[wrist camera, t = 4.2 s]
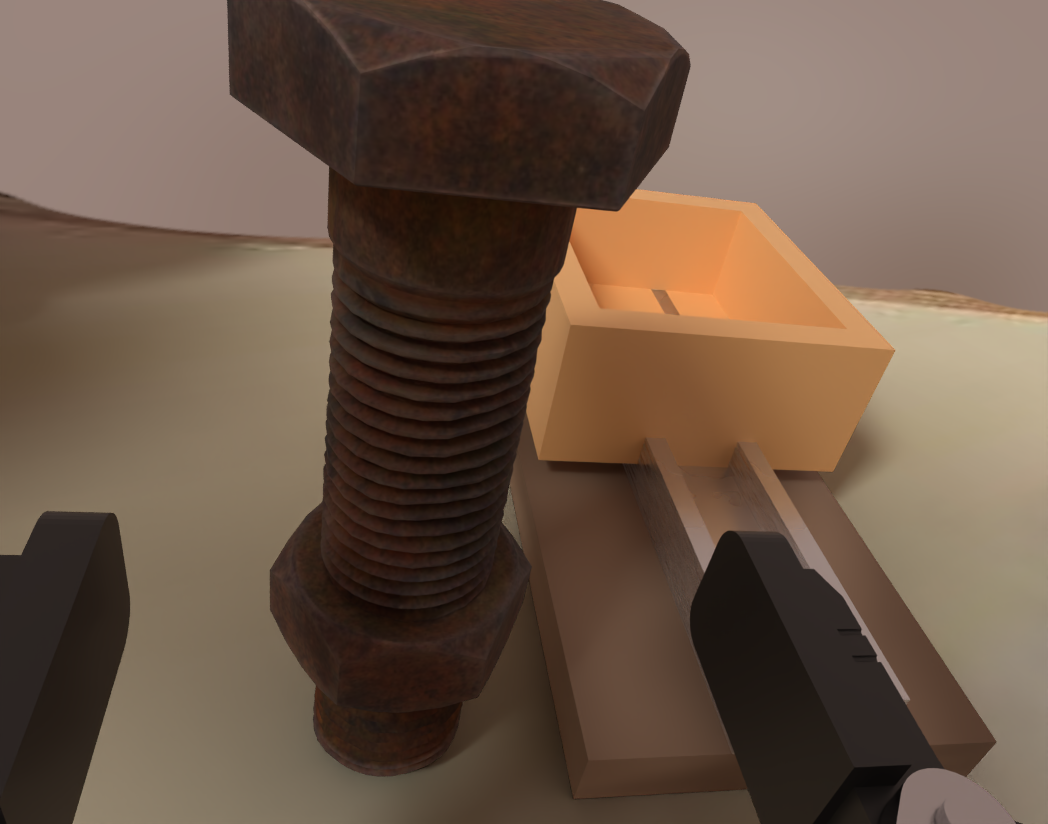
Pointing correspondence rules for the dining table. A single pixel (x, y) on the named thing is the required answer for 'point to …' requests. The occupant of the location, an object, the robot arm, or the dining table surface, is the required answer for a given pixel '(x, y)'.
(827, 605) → the robot arm
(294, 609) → the bolt
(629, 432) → the orange open box
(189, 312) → the dining table surface
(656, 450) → the rail
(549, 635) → the rail board
